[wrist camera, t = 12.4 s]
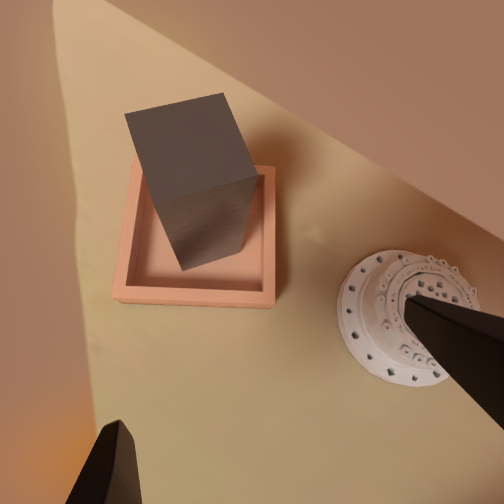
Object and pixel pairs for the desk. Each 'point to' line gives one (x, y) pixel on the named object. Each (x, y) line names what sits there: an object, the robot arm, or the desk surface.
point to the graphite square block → (196, 176)
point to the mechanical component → (396, 313)
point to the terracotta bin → (202, 277)
